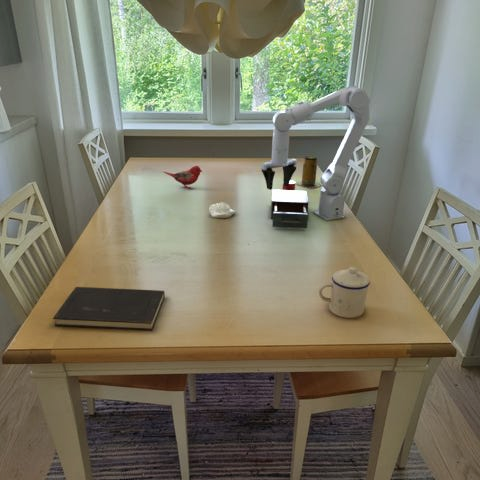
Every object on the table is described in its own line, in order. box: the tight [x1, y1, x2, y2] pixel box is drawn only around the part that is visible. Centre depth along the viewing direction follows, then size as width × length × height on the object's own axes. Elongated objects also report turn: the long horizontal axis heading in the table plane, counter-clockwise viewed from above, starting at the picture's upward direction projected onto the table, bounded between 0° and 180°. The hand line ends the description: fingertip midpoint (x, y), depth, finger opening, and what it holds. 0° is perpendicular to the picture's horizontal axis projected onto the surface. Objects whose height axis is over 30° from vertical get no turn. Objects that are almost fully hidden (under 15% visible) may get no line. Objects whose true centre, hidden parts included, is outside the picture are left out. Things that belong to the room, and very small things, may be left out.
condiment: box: [297, 155, 323, 189], centre depth 211 cm, size 7×8×12 cm
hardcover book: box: [52, 286, 166, 332], centre depth 118 cm, size 16×23×2 cm
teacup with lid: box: [318, 266, 371, 319], centre depth 119 cm, size 12×9×12 cm
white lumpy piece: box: [208, 201, 236, 219], centre depth 178 cm, size 10×4×10 cm
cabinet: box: [270, 188, 309, 220], centre depth 180 cm, size 14×13×7 cm
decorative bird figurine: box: [163, 165, 203, 190], centre depth 204 cm, size 3×18×10 cm, turn 75°
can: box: [281, 180, 296, 190], centre depth 191 cm, size 5×5×8 cm
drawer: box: [272, 203, 309, 229], centre depth 170 cm, size 17×12×5 cm
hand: (277, 187), depth 174 cm, fingers open, 7 cm apart
